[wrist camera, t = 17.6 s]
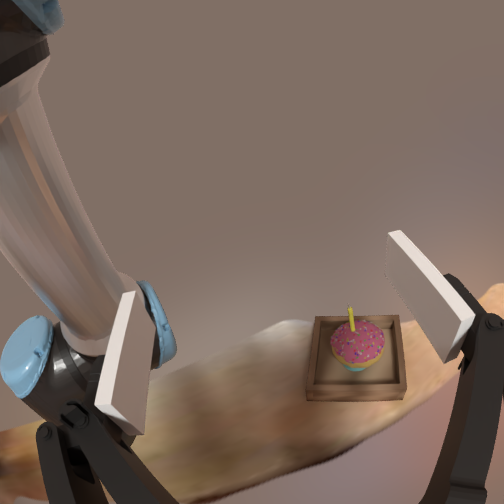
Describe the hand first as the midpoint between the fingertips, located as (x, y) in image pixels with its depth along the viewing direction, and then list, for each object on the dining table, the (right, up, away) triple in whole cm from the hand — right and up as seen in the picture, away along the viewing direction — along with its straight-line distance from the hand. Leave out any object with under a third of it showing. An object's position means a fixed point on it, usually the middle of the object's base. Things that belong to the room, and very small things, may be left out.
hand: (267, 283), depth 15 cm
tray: (+16, -17, +32) cm, 39 cm away
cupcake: (+16, -16, +31) cm, 39 cm away
